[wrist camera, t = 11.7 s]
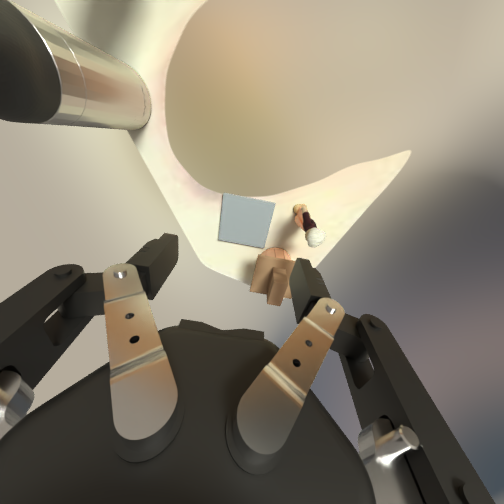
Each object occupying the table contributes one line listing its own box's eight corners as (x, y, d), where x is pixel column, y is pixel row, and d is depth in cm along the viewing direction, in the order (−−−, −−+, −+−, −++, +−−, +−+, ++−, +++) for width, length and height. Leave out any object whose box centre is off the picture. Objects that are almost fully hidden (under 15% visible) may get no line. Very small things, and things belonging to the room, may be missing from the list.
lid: (250, 289, 45) (248, 307, 40) (258, 254, 40) (257, 270, 35) (290, 296, 46) (293, 315, 41) (304, 262, 41) (309, 280, 36)
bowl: (256, 271, 50) (255, 285, 45) (262, 244, 46) (262, 257, 41) (285, 276, 50) (288, 291, 45) (294, 250, 46) (298, 264, 41)
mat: (219, 238, 45) (218, 239, 45) (223, 192, 40) (223, 193, 39) (264, 247, 46) (264, 248, 45) (275, 202, 40) (275, 203, 40)
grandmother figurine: (285, 206, 41) (294, 231, 30) (301, 195, 39) (316, 217, 28) (303, 233, 44) (316, 264, 33) (318, 223, 42) (338, 253, 31)
